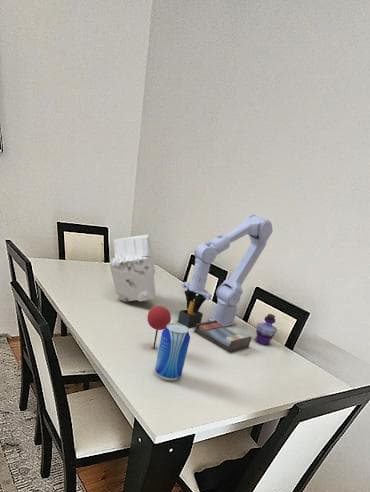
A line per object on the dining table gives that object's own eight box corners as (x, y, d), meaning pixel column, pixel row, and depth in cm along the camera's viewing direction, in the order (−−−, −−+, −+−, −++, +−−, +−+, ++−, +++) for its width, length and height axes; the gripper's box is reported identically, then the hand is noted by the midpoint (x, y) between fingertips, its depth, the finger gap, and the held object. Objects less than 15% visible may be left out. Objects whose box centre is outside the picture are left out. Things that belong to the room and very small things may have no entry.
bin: (190, 319, 163) (193, 308, 160) (200, 325, 160) (203, 313, 158) (177, 321, 158) (180, 310, 155) (187, 327, 155) (189, 315, 152)
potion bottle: (255, 335, 163) (264, 309, 157) (274, 342, 161) (284, 316, 155) (249, 341, 156) (258, 314, 150) (269, 349, 154) (279, 321, 148)
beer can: (153, 366, 122) (162, 319, 113) (179, 370, 123) (190, 324, 115) (154, 380, 115) (164, 331, 106) (181, 383, 116) (193, 335, 108)
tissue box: (156, 305, 160) (145, 242, 147) (119, 310, 162) (104, 248, 148) (159, 291, 178) (149, 234, 164) (125, 296, 179) (112, 239, 165)
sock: (191, 311, 159) (193, 300, 156) (196, 314, 157) (199, 303, 154) (186, 312, 156) (188, 300, 154) (191, 315, 155) (194, 303, 152)
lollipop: (167, 347, 135) (175, 307, 127) (159, 355, 129) (167, 313, 121) (147, 341, 136) (154, 300, 128) (139, 348, 130) (145, 306, 122)
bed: (213, 327, 161) (216, 317, 158) (248, 347, 151) (252, 337, 149) (194, 331, 153) (196, 321, 150) (229, 352, 143) (233, 342, 141)
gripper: (179, 271, 150) (173, 304, 157) (206, 284, 142) (198, 318, 150) (192, 270, 154) (185, 302, 162) (218, 283, 147) (209, 316, 154)
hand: (192, 310), depth 156 cm, fingers closed on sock, 3 cm apart
